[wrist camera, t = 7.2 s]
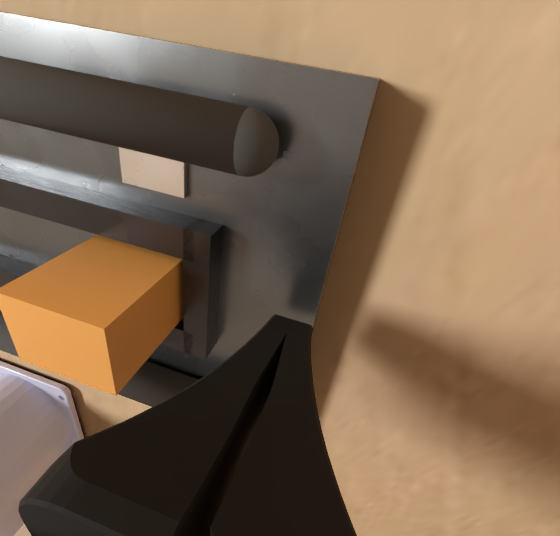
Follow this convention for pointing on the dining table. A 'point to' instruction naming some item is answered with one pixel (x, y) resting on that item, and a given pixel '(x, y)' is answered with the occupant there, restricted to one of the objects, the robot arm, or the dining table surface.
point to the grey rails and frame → (138, 147)
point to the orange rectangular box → (95, 311)
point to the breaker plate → (189, 184)
